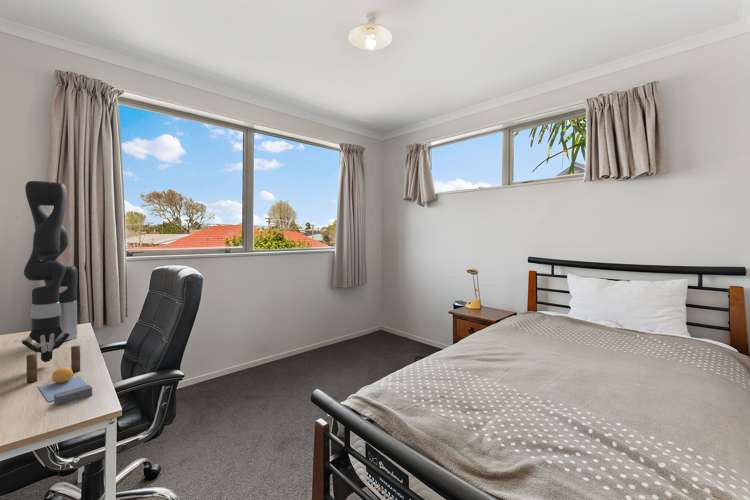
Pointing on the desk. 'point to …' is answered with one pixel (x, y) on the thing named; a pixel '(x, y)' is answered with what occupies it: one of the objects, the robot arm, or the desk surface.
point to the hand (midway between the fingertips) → (46, 361)
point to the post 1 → (31, 368)
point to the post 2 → (75, 358)
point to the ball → (62, 375)
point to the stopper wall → (72, 395)
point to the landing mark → (61, 387)
